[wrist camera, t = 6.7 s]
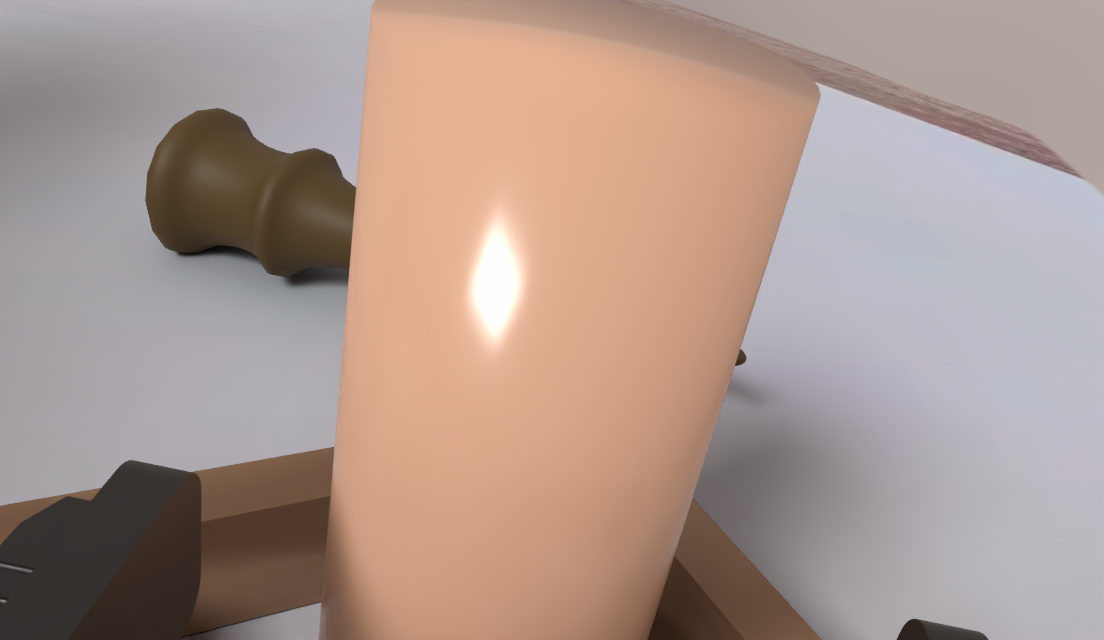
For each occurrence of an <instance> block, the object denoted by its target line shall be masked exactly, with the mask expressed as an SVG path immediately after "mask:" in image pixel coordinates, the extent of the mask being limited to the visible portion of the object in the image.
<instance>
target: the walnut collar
mask: <svg viewBox="0 0 1104 640" xmlns="http://www.w3.org/2000/svg"><path fill="white" fill-rule="evenodd" d="M334 448H335V447H332V448H326V449H320V450H315V451H309V452H303V453H298V454H292V455H286V456H281V457H275V458H269V459H264V460H258V461H252V462H246V463H241V464H235V465H229V466H224V467H218V468H212V469H207V470H201V471H195V472H192V473H196V474H197V475H198V476H199V478H200V481H201V580H200V587H199V592H198V596H197V600H196V604H195V607H194V610H193V613H192V616H191V618H190V621H189V623H188V625H187V627H186V629H185V631H184V633H183V635H182V637H183V636H187V635H191V634H195V633H199V632H203V631H207V630H211V629H215V628H219V627H223V626H227V625H230V624H234V623H238V622H242V621H246V620H250V619H254V618H258V617H262V616H266V615H270V614H274V613H278V612H281V611H285V610H289V609H293V608H297V607H301V606H305V605H309V604H313V603H317V602H321V601H322V592H323V580H324V568H325V556H326V544H327V532H328V520H329V508H330V496H331V484H332V472H333V460H334ZM100 489H101V488H99V489H93V490H87V491H82V492H76V493H70V494H65V495H59V496H53V497H48V498H42V499H36V500H31V501H25V502H19V503H14V504H8V505H2V506H0V545H1V544H2V543H3V541H4V540H5V539H6V538H7V537H8V536H9V535H10V534H11V533H12V532H13V530H14V529H15V528H16V527H17V526H18V525H19V524H20V523H21V522H23V521H24V520H26V519H28V518H30V517H31V516H33V515H35V514H36V513H38V512H40V511H42V510H43V509H45V508H47V507H49V506H50V505H52V504H54V503H56V502H57V501H59V500H61V499H63V498H64V497H66V496H70V497H75V498H80V499H85V500H90V501H91V500H92V499H93V498H94V496H95V495H96V494H97V493H98V492H99V491H100ZM647 640H821V639H820V637H819V636H818V635H817V634H816V633H815V632H814V631H813V630H812V629H811V628H810V626H809V625H808V624H807V623H806V622H805V621H804V620H803V619H802V618H801V617H800V615H799V614H798V613H797V612H796V611H795V610H794V609H793V608H792V607H791V606H790V605H789V603H788V602H787V601H786V600H785V599H784V598H783V597H782V596H781V595H780V594H779V592H778V591H777V590H776V589H775V588H774V587H773V586H772V585H771V584H770V583H769V581H768V580H767V579H766V578H765V577H764V576H763V575H762V574H761V573H760V572H759V570H758V569H757V568H756V567H755V566H754V565H753V564H752V563H751V562H750V561H749V559H748V558H747V557H746V556H745V555H744V554H743V553H742V552H741V551H740V550H739V549H738V547H737V546H736V545H735V544H734V543H733V542H732V541H731V540H730V539H729V538H728V536H727V535H726V534H725V533H724V532H723V531H722V530H721V529H720V528H719V527H718V525H717V524H716V523H715V522H714V521H713V520H712V519H711V518H710V517H709V516H708V514H707V513H706V512H705V511H704V510H703V509H702V508H701V507H700V506H699V505H698V503H697V502H696V501H695V500H694V499H693V498H692V501H691V504H690V508H689V511H688V514H687V517H686V520H685V523H684V526H683V530H682V533H681V536H680V539H679V542H678V545H677V548H676V551H675V555H674V558H673V561H672V564H671V567H670V570H669V573H668V577H667V580H666V583H665V586H664V589H663V592H662V595H661V599H660V602H659V605H658V608H657V611H656V614H655V617H654V620H653V624H652V627H651V630H650V633H649V636H648V639H647Z"/></svg>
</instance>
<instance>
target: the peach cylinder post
mask: <svg viewBox="0 0 1104 640" xmlns="http://www.w3.org/2000/svg"><path fill="white" fill-rule="evenodd" d="M819 99H820V91H819V88H818V86H817V85H816V83H815V82H814V81H813V79H812V78H810V77H809V76H808V75H807V74H806V73H805V72H804V71H803V70H801V69H800V68H798V67H797V66H796V65H794V64H793V63H791V62H789V61H788V60H786V59H784V58H782V57H781V56H779V55H777V54H775V53H773V52H771V51H769V50H767V49H765V48H763V47H761V46H759V45H756V44H754V43H752V42H749V41H747V40H745V39H742V38H740V37H737V36H734V35H732V34H729V33H726V32H724V31H721V30H718V29H715V28H712V27H709V26H706V25H703V24H700V23H697V22H694V21H690V20H687V19H684V18H681V17H677V16H673V15H670V14H666V13H662V12H659V11H655V10H651V9H647V8H643V7H639V6H635V5H630V4H626V3H621V2H616V1H612V0H376V1H375V2H374V3H373V6H372V9H371V18H370V30H369V41H368V53H367V65H366V77H365V89H364V101H363V113H362V125H361V137H360V149H359V161H358V173H357V185H356V197H355V209H354V221H353V233H352V245H351V257H350V269H349V281H348V293H347V305H346V317H345V329H344V341H343V353H342V365H341V377H340V388H339V400H338V412H337V424H336V436H335V448H334V460H333V472H332V484H331V496H330V508H329V520H328V532H327V544H326V556H325V568H324V580H323V592H322V604H321V616H320V628H319V640H647V639H648V636H649V633H650V630H651V627H652V624H653V620H654V617H655V614H656V611H657V608H658V605H659V602H660V599H661V595H662V592H663V589H664V586H665V583H666V580H667V577H668V573H669V570H670V567H671V564H672V561H673V558H674V555H675V551H676V548H677V545H678V542H679V539H680V536H681V533H682V530H683V526H684V523H685V520H686V517H687V514H688V511H689V508H690V504H691V501H692V498H693V495H694V492H695V489H696V486H697V483H698V479H699V476H700V473H701V470H702V467H703V464H704V461H705V457H706V454H707V451H708V448H709V445H710V442H711V439H712V435H713V432H714V429H715V426H716V423H717V420H718V417H719V414H720V410H721V407H722V404H723V401H724V398H725V395H726V392H727V388H728V385H729V382H730V379H731V376H732V373H733V370H734V367H735V363H736V360H737V357H738V354H739V351H740V348H741V345H742V341H743V338H744V335H745V332H746V329H747V326H748V323H749V319H750V316H751V313H752V310H753V307H754V304H755V301H756V298H757V294H758V291H759V288H760V285H761V282H762V279H763V276H764V272H765V269H766V266H767V263H768V260H769V257H770V254H771V251H772V247H773V244H774V241H775V238H776V235H777V232H778V229H779V225H780V222H781V219H782V216H783V213H784V210H785V207H786V203H787V200H788V197H789V194H790V191H791V188H792V185H793V182H794V178H795V175H796V172H797V169H798V166H799V163H800V160H801V156H802V153H803V150H804V147H805V144H806V141H807V138H808V135H809V131H810V128H811V125H812V122H813V119H814V116H815V113H816V109H817V106H818V103H819Z"/></svg>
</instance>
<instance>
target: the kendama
mask: <svg viewBox="0 0 1104 640" xmlns="http://www.w3.org/2000/svg"><path fill="white" fill-rule="evenodd" d="M355 197H356V187H355V186H353V185H352V184H351V183H349V182H348V181H347V180H346V179H345V178H344V177H343V175H342V172H341V170H340V168H339V166H338V163H337V161H336V159H335V158H334V156H332V155H331V154H328V153H326V152H324V151H321V150H319V149H315V148H313V149H308V150H303V151H299V152H294V153H292V154H290V153H285V152H281V151H277V150H275V149H272V148H270V147H268V146H266V145H264V144H263V143H261V142H260V141H258V140H257V139H256V138H255V137H254V136H253V135H252V133H251V131H250V129H249V127H248V125H247V123H246V122H245V121H244V120H243V119H242V118H241V117H239V116H237V115H235V114H233V113H230V112H228V111H226V110H224V109H219V108H216V109H208V110H200V111H196V112H194V113H193V114H191V115H189V116H188V117H186V118H184V119H183V120H181V121H179V122H178V123H176V124H175V125H174V126H173V127H172V128H171V129H170V131H169V132H168V133H167V135H166V136H165V137H164V138H163V140H162V141H161V142H160V143H159V145H158V146H157V148H156V150H155V153H154V156H153V159H152V162H151V164H150V167H149V170H148V173H147V185H146V199H145V201H146V205H147V209H148V214H149V218H150V222H151V227H152V231H153V232H154V233H155V235H156V236H157V237H158V239H159V240H160V241H161V243H162V244H163V245H164V247H165V248H167V249H169V250H172V251H177V252H181V253H198V252H201V251H204V250H207V249H210V248H213V247H216V246H218V245H224V246H233V247H238V248H241V249H243V250H246V251H248V252H250V253H252V254H254V255H255V256H256V257H257V258H258V259H259V261H260V262H261V264H262V266H263V267H264V269H265V270H266V271H267V273H269V274H272V275H277V276H283V277H289V276H291V275H294V274H296V273H299V272H301V271H304V270H306V269H307V268H309V267H336V268H345V269H350V257H351V245H352V233H353V221H354V209H355ZM745 361H746V355H745V353H744V352H743V351H742V350H741V349H740V351H739V354H738V357H737V360H736V363H735V366H738V365H741V364H743V363H744V362H745Z"/></svg>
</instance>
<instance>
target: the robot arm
mask: <svg viewBox="0 0 1104 640" xmlns="http://www.w3.org/2000/svg"><path fill="white" fill-rule="evenodd" d="M200 580H201V481H200V478H199V476H198V475H197V474H196V473H192V472H187V471H182V470H177V469H173V468H168V467H163V466H158V465H153V464H148V463H143V462H139V461H134V460H129V461H127V462H125V463H123V464H122V465H121V466H120V467H119V468H118V469H117V470H116V471H115V473H114V474H113V475H112V476H111V477H110V479H109V480H108V481H107V482H106V483H105V485H104V486H103V487H102V488H101V489H100V491H99V492H98V493H97V494H96V495H95V496H94V498H93V499H92V500H91V501H90V500H85V499H80V498H75V497H70V496H66V497H64V498H63V499H61V500H59V501H57V502H56V503H54V504H52V505H50V506H49V507H47V508H45V509H43V510H42V511H40V512H38V513H36V514H35V515H33V516H31V517H30V518H28V519H26V520H24V521H23V522H21V523H20V524H19V525H18V526H17V527H16V528H15V529H14V530H13V532H12V533H11V534H10V535H9V536H8V537H7V538H6V539H5V540H4V541H3V543H2V544H1V545H0V640H180V638H181V637H182V635H183V633H184V631H185V629H186V627H187V625H188V623H189V621H190V618H191V616H192V613H193V610H194V607H195V604H196V600H197V596H198V592H199V587H200ZM897 640H988V639H987V637H986V636H985V635H984V634H983V633H980V632H977V631H972V630H967V629H962V628H958V627H953V626H948V625H943V624H938V623H933V622H928V621H923V620H919V619H911V620H909V621H908V622H907V623H906V624H905V625H904V627H903V628H902V630H901V632H900V634H899V636H898V638H897Z"/></svg>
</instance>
